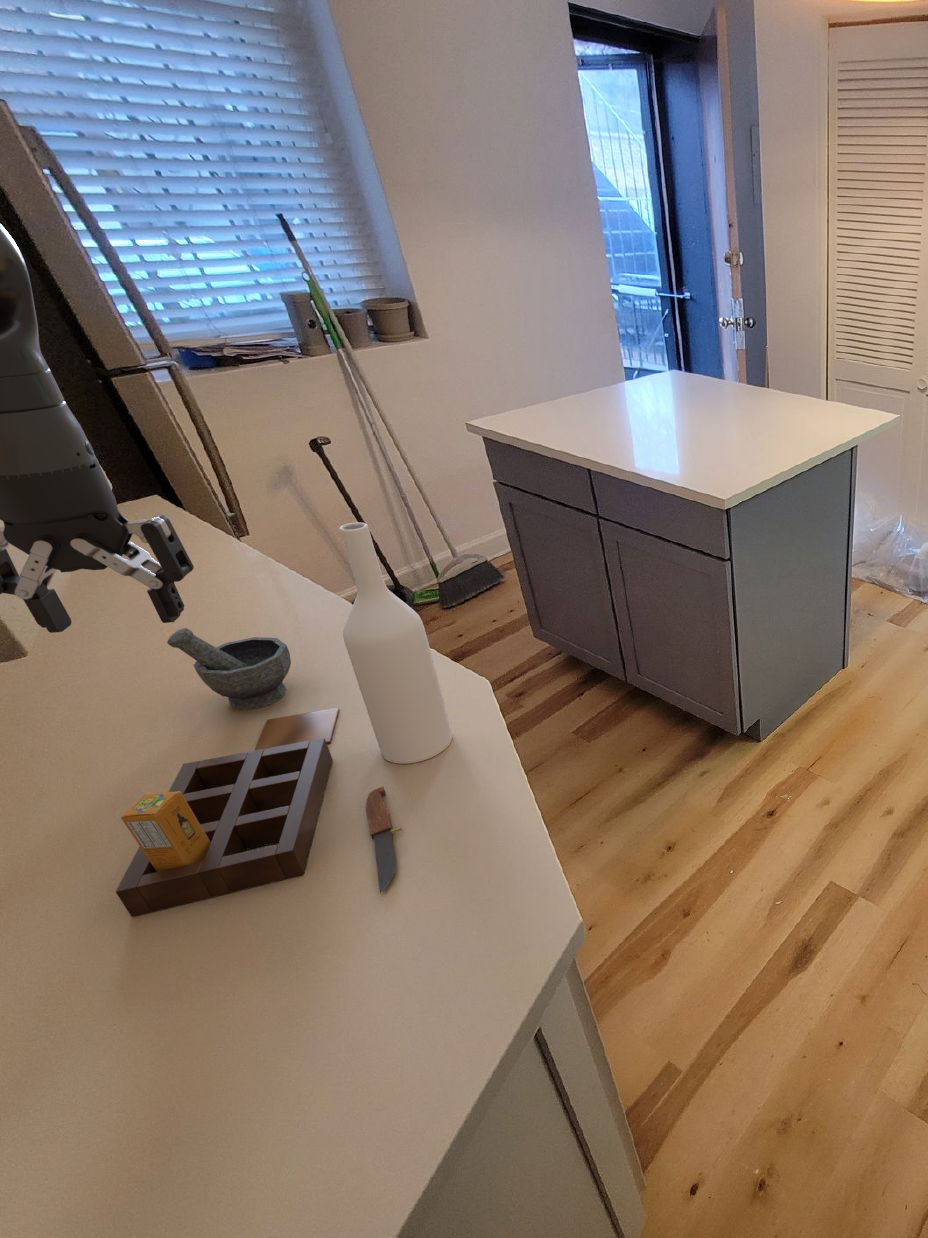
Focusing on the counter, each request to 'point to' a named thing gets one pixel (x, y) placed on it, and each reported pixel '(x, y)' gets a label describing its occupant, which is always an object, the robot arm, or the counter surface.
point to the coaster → (298, 728)
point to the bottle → (392, 661)
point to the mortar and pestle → (239, 667)
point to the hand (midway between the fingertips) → (118, 623)
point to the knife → (381, 835)
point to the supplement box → (167, 830)
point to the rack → (239, 825)
